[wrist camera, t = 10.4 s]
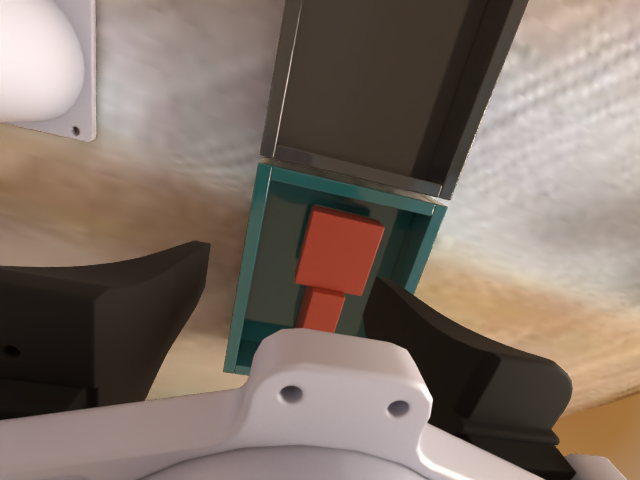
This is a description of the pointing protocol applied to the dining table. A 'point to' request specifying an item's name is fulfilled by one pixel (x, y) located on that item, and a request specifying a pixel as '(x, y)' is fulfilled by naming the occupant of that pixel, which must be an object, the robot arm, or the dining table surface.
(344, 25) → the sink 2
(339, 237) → the brush
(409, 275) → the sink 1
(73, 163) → the dining table surface
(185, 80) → the dining table surface
